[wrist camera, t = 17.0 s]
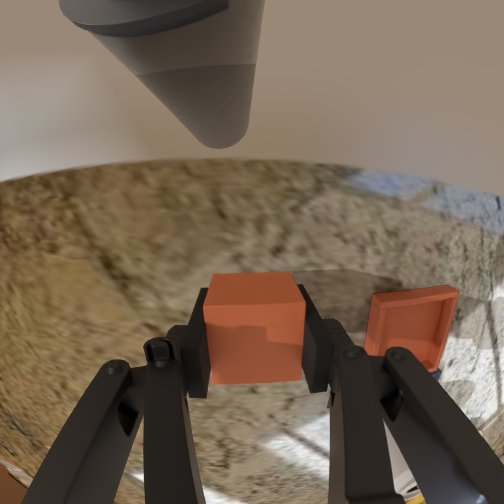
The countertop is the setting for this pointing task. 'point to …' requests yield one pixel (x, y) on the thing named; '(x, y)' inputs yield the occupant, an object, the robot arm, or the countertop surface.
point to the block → (254, 328)
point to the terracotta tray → (412, 322)
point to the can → (401, 471)
